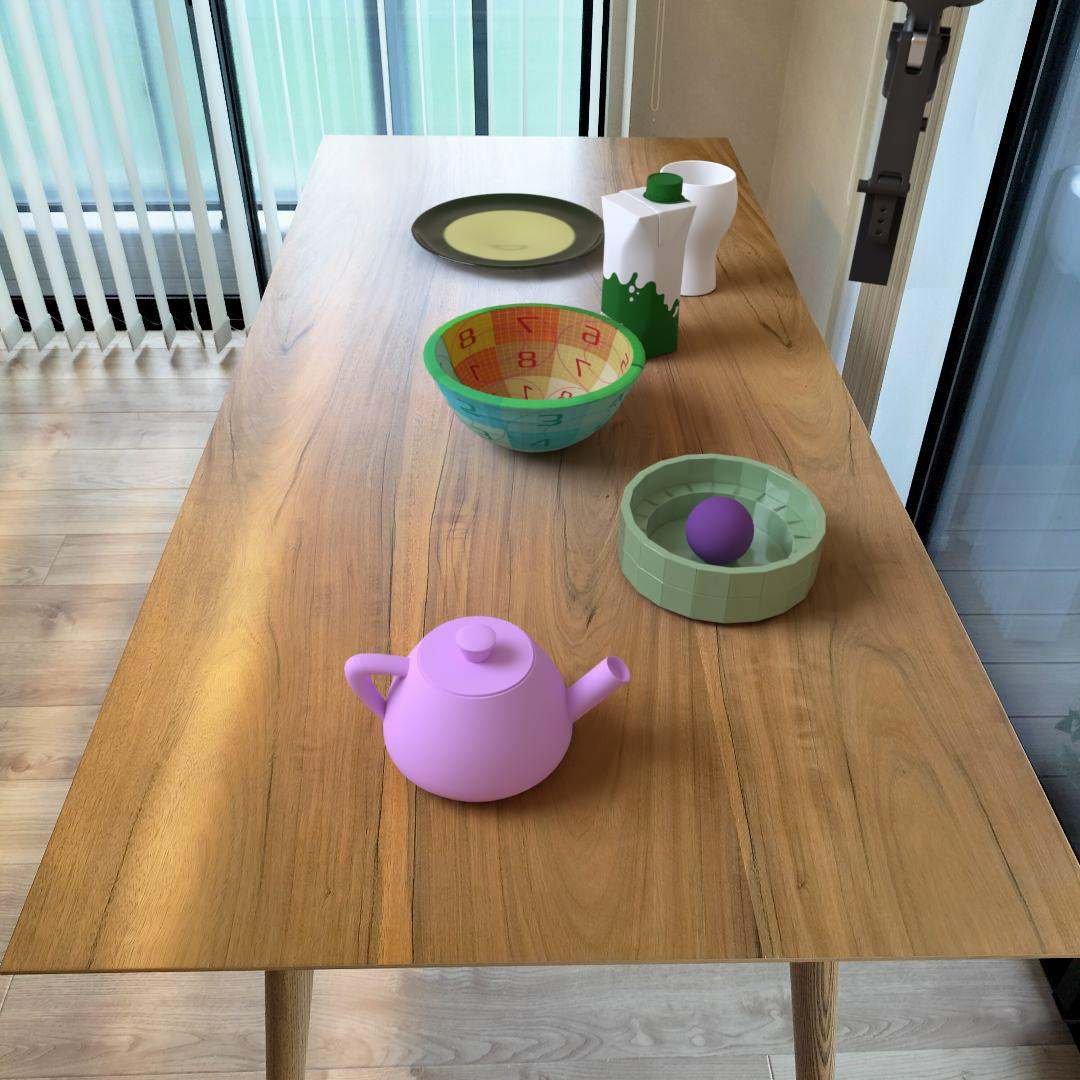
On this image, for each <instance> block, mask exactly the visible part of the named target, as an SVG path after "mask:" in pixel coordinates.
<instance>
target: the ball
mask: <svg viewBox="0 0 1080 1080" xmlns="http://www.w3.org/2000/svg"><path fill="white" fill-rule="evenodd" d="M753 537H754V524H753V520H752V517H751V515H750V513H749V512H748V510H747V509H746V508H745V507H744V506H743V505H742V504H741V503H739V502H738V501H736V500H734V499H731V498H728V497H712V498H709V499H706V500H704V501H702V502H700V503H699V504H698V505H697V506H696V507H695V508H694V509H693V510H692V511H691V513H690V515H689V517H688V519H687V523H686V539H687V542H688V544H689V546H690V548H691V550H692V551H693V552H694V553H695V554H696V555H697V556H698V557H699V558H701V559H702V560H704V561H706V562H709V563H712V564H727V563H731V562H734V561H736V560H737V559H739V558H740V557H742V556H743V555H744V554H745V553H746V552H747V550H748V549H749V547H750V546H751V543H752V541H753Z"/></svg>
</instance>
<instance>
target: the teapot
mask: <svg viewBox="0 0 1080 1080" xmlns="http://www.w3.org/2000/svg"><path fill="white" fill-rule="evenodd" d="M343 670H344V676H345V679H346V682H347V684H348V685H349V688H350V689H351V690H352V692H353V693H354V695H356V697H358V699H359V700H360V701H361V702H362V703H363V704H364V705H365V706H366V707H367V708H368V709H369V710H370V711H372V712H373V714H374V715H376V716H377V717H378V718H379V719H380V720H381V721H382V729H383V731H382V732H383V741H384V745H385V748H386V751H387V754H388V755H389V757H390V760H391V761H392V763H393V764H394V765H395V767H396V768H397V769H398V771H399V772H400V773H401V774H402V775H403V776H404V777H405V778H406V779H407V780H408V781H410V782H411V783H412V784H414V785H415V786H416V787H419V788H420V789H422V790H424V791H426V792H429V793H430V794H433V795H436V796H438V797H441V798H445V799H449V800H453V801H458V802H459V801H460V802H466V803H468V802H469V803H470V802H471V803H483V802H484V803H485V802H492V801H498V800H503V799H506V798H507V799H508V798H510V797H513V796H516V795H519V794H521V793H523V792H525V791H528V790H530V789H532V788H533V787H535V786H537V785H539V784H540V783H541V782H542V781H544V780H545V779H547V777H548V776H549V775H550V774H552V773H553V772H554V771H555V770H556V768H557V767H558V766H559V764H560V763H561V762H562V760H563V758H564V757H565V755H566V753H567V751H568V749H569V747H570V743H571V740H572V736H573V735H572V734H573V724H574V723H575V722H577V721H578V720H579V719H580V718H582V717H583V716H584V715H586V714H587V713H588V712H590V711H591V710H592V709H593V708H595V707H596V706H598V705H599V704H600V703H601V702H603V701H604V700H605V699H607V698H608V697H610V696H611V695H612V694H614V692H616V691H617V690H619V689H620V688H621V687H623V686H624V685H626V684H627V683H628V682H629V681H630V680H631V672H630V670H629V668H628V666H627V665H626V663H625V662H624V661H623V660H622V659H621V657H618V656H616V655H614V654H610V655H608V656H606V657H605V658H604V659H603V660H602V661H600V662H599V663H597V665H596V666H594V667H593V668H592V669H590V670H589V671H588V672H587V673H586V674H584V675H583V676H582V677H581V678H579V679H578V680H576V681H575V682H574V683H573V684H572V685H570V686H569V687H568V688H567V687H566V684H565V681H564V679H563V677H562V675H561V673H560V670H559V669H558V667H557V666H556V664H555V663H554V661H553V660H552V659H551V657H550V656H549V655H548V653H547V652H546V650H544V649H543V648H542V646H541V645H540V644H539V643H537V641H536V640H535V639H534V638H533V637H532V636H530V634H529V633H527V632H526V631H524V630H523V629H521V627H519V626H517V625H516V624H514V623H512V622H510V621H508V620H504V619H501V618H498V617H493V616H484V615H483V616H481V615H475V616H472V615H471V616H465V617H464V616H463V617H458V618H455V619H451V620H448V621H446V622H444V623H441V624H439V625H438V626H436V627H435V628H434V629H432V630H431V631H429V632H428V633H427V634H426V635H425V636H424V637H423V638H421V640H419V641H418V643H417V644H416V645H415V646H414V647H413V648H412V650H411V651H410V652H409V654H408V655H407V656H400V655H394V654H388V653H387V654H386V653H373V652H372V653H371V652H370V653H369V652H367V653H364V652H363V653H358V654H355V655H353V656H350V658H348V659H347V660H346V662H345V664H344V669H343ZM371 675H388V676H394V677H393V679H392V681H391V684H390V687H389V689H388V692H387V695H386V699H385V698H384V697H383V696H382V694H381V693H380V692H379V690H378V689H377V687H376V686H375V684H374V682H373V680H372V678H371Z"/></svg>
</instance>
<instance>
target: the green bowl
mask: <svg viewBox="0 0 1080 1080" xmlns="http://www.w3.org/2000/svg"><path fill="white" fill-rule="evenodd" d="M712 497H728V498H731V499H734V500H736V501H738V502H739V503H741V504H742V505H743V506H744V507H745V508H746V509H747V510H748V512H749V513H750V515H751V517H752V520H753V524H754V537H753V541H752V543H751V546H750V547H749V549H748V550H747V552H746V553H745V554H744V555H743V556H742V557H740V558H739V559H737V560H736V561H734V562H731V563H727V564H712V563H709V562H706V561H704V560H702V559H701V558H699V557H698V556H697V555H696V554H695V553H694V552H693V551H692V550H691V548H690V546H689V544H688V542H687V539H686V523H687V519H688V517H689V515H690V513H691V511H692V510H693V509H694V508H695V507H696V506H697V505H698V504H699V503H700V502H702V501H704V500H706V499H709V498H712ZM826 533H827V515H826V511H825V509H824V507H823V506H822V504H821V502H820V500H819V498H818V496H817V495H816V494H815V493H814V492H813V491H812V490H811V489H810V488H809V487H807V486H806V484H804V483H803V482H802V481H800V480H799V479H798V478H797V477H795V476H793V475H792V474H789V473H787V472H785V471H783V470H782V469H780V468H778V467H777V466H774V465H771V464H768V463H765V462H763V461H759V460H755V459H752V458H749V457H744V456H736V455H727V454H720V453H698V454H695V453H694V454H684V455H679V456H676V457H671V458H668V459H662V460H660V461H658V462H656V463H654V464H652V465H650V466H648V467H646V468H644V469H642V470H640V471H639V472H637V474H636V475H635V476H634V477H633V478H632V479H631V480H630V481H629V483H628V484H627V485H625V487H624V489H623V494H622V498H621V502H620V507H619V520H618V534H617V547H616V555H617V559H618V561H619V566H620V571H621V573H622V574H623V576H625V578H626V579H627V580H628V582H629V583H630V584H631V586H632V587H633V588H634V589H635V590H636V592H638V594H640V595H642V597H643V596H644V597H645V598H646V599H648V600H649V601H650V602H652V603H653V604H655V605H656V606H658V607H660V608H662V609H665V610H666V611H667V610H668V611H670V612H673V613H676V614H679V615H681V616H683V617H686V618H689V619H693V620H697V621H698V620H700V621H705V622H712V623H719V624H735V623H736V624H737V623H753V622H760V621H762V620H766V619H768V618H769V619H770V618H773V617H775V616H779V615H782V614H784V613H786V612H787V611H789V610H790V609H792V608H793V607H795V606H796V605H798V604H799V603H800V602H802V601H804V600H805V598H806V597H807V595H808V593H809V592H810V590H811V588H812V587H813V586H814V583H815V581H816V579H817V573H818V569H819V565H820V560H821V556H822V552H823V546H824V542H825V538H826Z"/></svg>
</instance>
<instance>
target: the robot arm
mask: <svg viewBox="0 0 1080 1080" xmlns="http://www.w3.org/2000/svg"><path fill="white" fill-rule="evenodd" d="M887 1H888V2H892V3H903V4H905V7H906V8H907V9H906V13H905V19H904V22H898V21H897V22H896V21H892V26H891V29H890V31H889V36H888V41H887V46H886V50H885V51H886V52H885V58H886V61H887V63H886V69H885V73H884V78H883V81H882V82H883V83H882V88H881V94H882V97H884V98H885V100H886V103H885V109H884V113H883V119H882V123H881V128H880V133H879V138H878V142H877V147H876V152H875V157H874V161H873V165H872V171H871V175H870V177H869V178H868V179H862V178H861V179H860V178H859V179H858V182H857V188H856V193H862V194H865V195H864V200H863V205H862V211H861V215H860V220H859V225H858V230H857V235H856V240H855V243H854V244H855V245H854V249H853V254H852V259H851V264H850V269H849V274H848V280H847V281H848V282H855V283H862V284H863V283H864V284H868V285H869V284H870V285H877V286H884V287H887V286H888V284H889V283H888V282H889V277H890V273H891V269H892V265H893V261H894V256H895V251H896V248H897V243H898V238H899V234H900V230H901V225H902V220H903V215H904V211H905V207H906V204H907V203H906V202H907V198H908V194H909V192H910V191H911V190H910V189H911V187H912V183H911V182H910V180H911V176H912V171H913V166H914V161H915V157H916V153H917V152H916V151H917V147H918V142H919V137H920V133H926V131H927V126H928V121H929V117H928V116H925V110H926V105H927V103H929V102H931V101H933V99H934V96H935V93H936V89H937V85H938V81H939V76H940V71H941V66H943V64H945V61H946V59H947V55H948V52H949V47H950V46H949V45H950V42H951V37H952V35H951V32H952V26H944V25H941V24H942V18H943V13H944V10H945V9H948V8H950V7H954V8H955V7H956V8H968V7H973V6H976V5H979V4H981V3H983V2H984V1H985V0H887Z"/></svg>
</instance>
